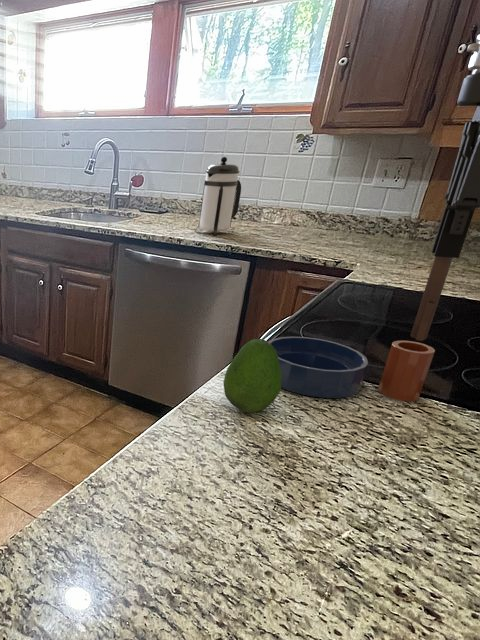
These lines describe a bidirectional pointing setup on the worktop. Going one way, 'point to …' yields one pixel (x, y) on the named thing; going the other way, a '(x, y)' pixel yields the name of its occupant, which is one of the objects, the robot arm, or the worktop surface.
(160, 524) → the worktop surface
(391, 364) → the crock
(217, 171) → the coffee press
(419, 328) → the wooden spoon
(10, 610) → the worktop surface
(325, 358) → the bowl
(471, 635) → the worktop surface
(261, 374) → the avocado
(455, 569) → the worktop surface
